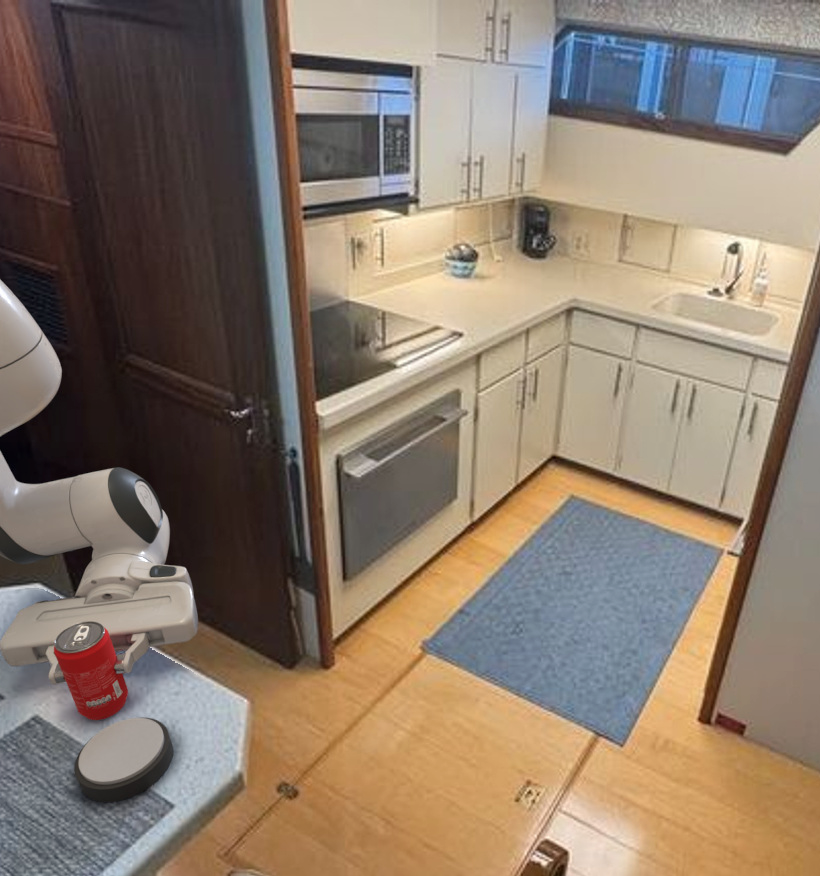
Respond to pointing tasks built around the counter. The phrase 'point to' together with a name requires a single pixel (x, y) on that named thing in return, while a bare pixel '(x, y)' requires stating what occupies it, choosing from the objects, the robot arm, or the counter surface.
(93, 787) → the scale
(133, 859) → the counter surface
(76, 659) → the beverage can
